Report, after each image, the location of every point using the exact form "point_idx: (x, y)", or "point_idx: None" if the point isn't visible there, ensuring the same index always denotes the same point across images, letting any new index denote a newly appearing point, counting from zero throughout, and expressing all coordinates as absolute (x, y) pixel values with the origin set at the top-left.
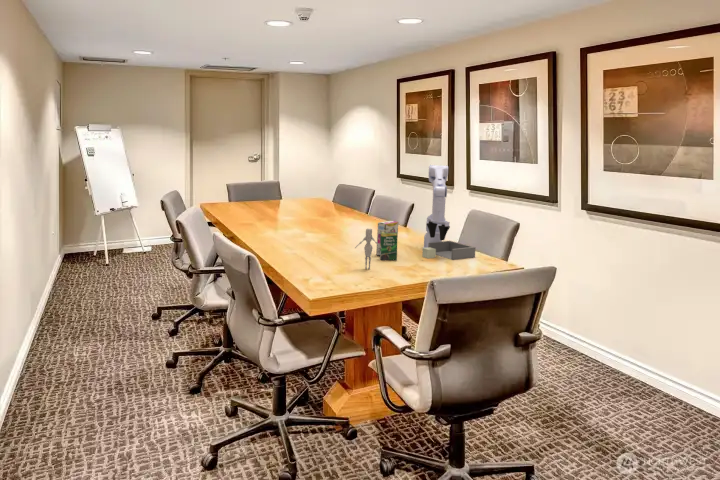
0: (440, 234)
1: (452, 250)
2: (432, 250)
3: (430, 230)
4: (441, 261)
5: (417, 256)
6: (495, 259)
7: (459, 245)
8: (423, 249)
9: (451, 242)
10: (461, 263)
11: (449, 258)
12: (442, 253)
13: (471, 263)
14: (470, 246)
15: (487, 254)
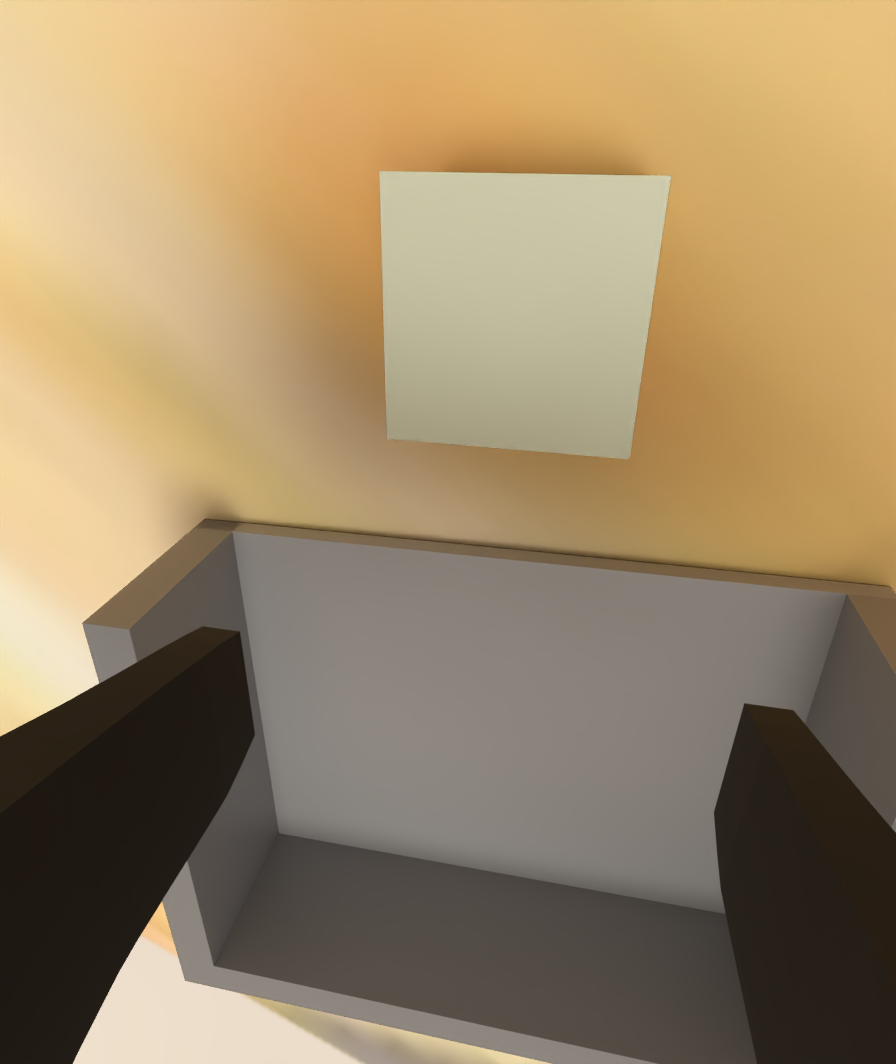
0: (49, 735)
1: (123, 613)
2: (390, 323)
3: (863, 952)
4: (234, 336)
5: (841, 178)
6: (168, 936)
7: (505, 998)
8: (623, 175)
9: (719, 1060)
10: (49, 517)
11: (295, 554)
12: (653, 725)
13: (33, 625)
14: (257, 981)
15: (391, 1045)
